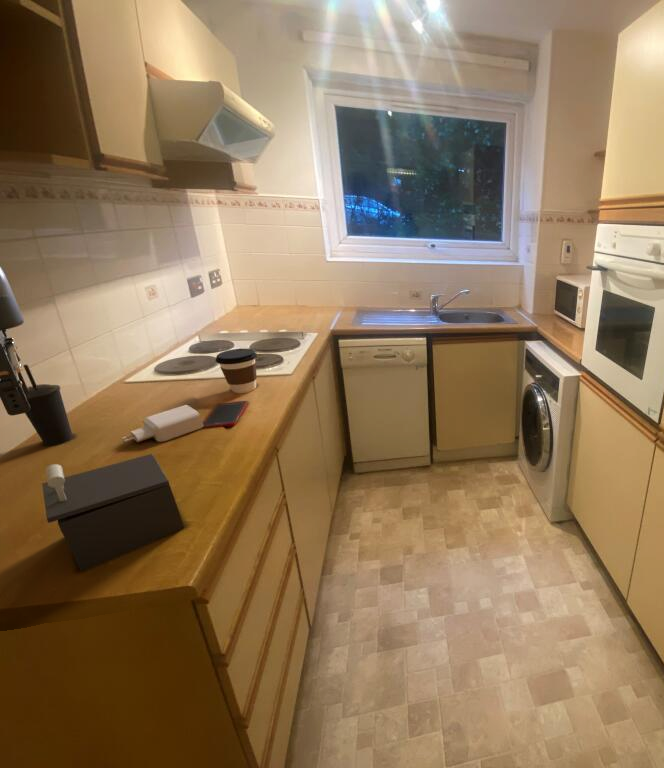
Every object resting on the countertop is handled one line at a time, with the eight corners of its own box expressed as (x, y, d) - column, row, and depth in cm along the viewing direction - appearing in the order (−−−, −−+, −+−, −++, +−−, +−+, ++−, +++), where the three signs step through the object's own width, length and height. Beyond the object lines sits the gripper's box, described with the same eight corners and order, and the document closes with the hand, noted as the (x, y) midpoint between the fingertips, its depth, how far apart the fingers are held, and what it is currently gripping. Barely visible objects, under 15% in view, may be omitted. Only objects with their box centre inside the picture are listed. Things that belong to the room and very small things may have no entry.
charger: (120, 443, 105) (190, 419, 116) (133, 455, 100) (205, 428, 111) (113, 426, 103) (185, 403, 114) (125, 437, 98) (199, 412, 109)
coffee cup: (230, 384, 139) (221, 349, 135) (267, 381, 142) (260, 346, 138) (219, 398, 130) (209, 360, 125) (259, 394, 133) (251, 357, 128)
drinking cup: (44, 439, 106) (9, 362, 99) (85, 432, 110) (54, 357, 102) (31, 454, 100) (-7, 373, 92) (75, 446, 103) (42, 367, 96)
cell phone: (248, 403, 126) (247, 400, 126) (235, 426, 113) (234, 423, 113) (217, 406, 124) (216, 403, 123) (200, 430, 111) (199, 427, 111)
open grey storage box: (82, 574, 68) (58, 524, 64) (74, 535, 76) (52, 489, 72) (185, 530, 77) (169, 484, 73) (168, 500, 85) (153, 457, 81)
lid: (48, 523, 63) (36, 493, 61) (43, 487, 71) (32, 459, 69) (169, 484, 73) (162, 457, 72) (153, 457, 81) (146, 432, 79)
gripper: (-69, 290, 60) (-17, 397, 66) (-83, 305, 51) (-22, 428, 57) (11, 284, 65) (53, 384, 71) (11, 297, 56) (58, 411, 62)
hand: (20, 404), depth 64 cm, fingers open, 8 cm apart
